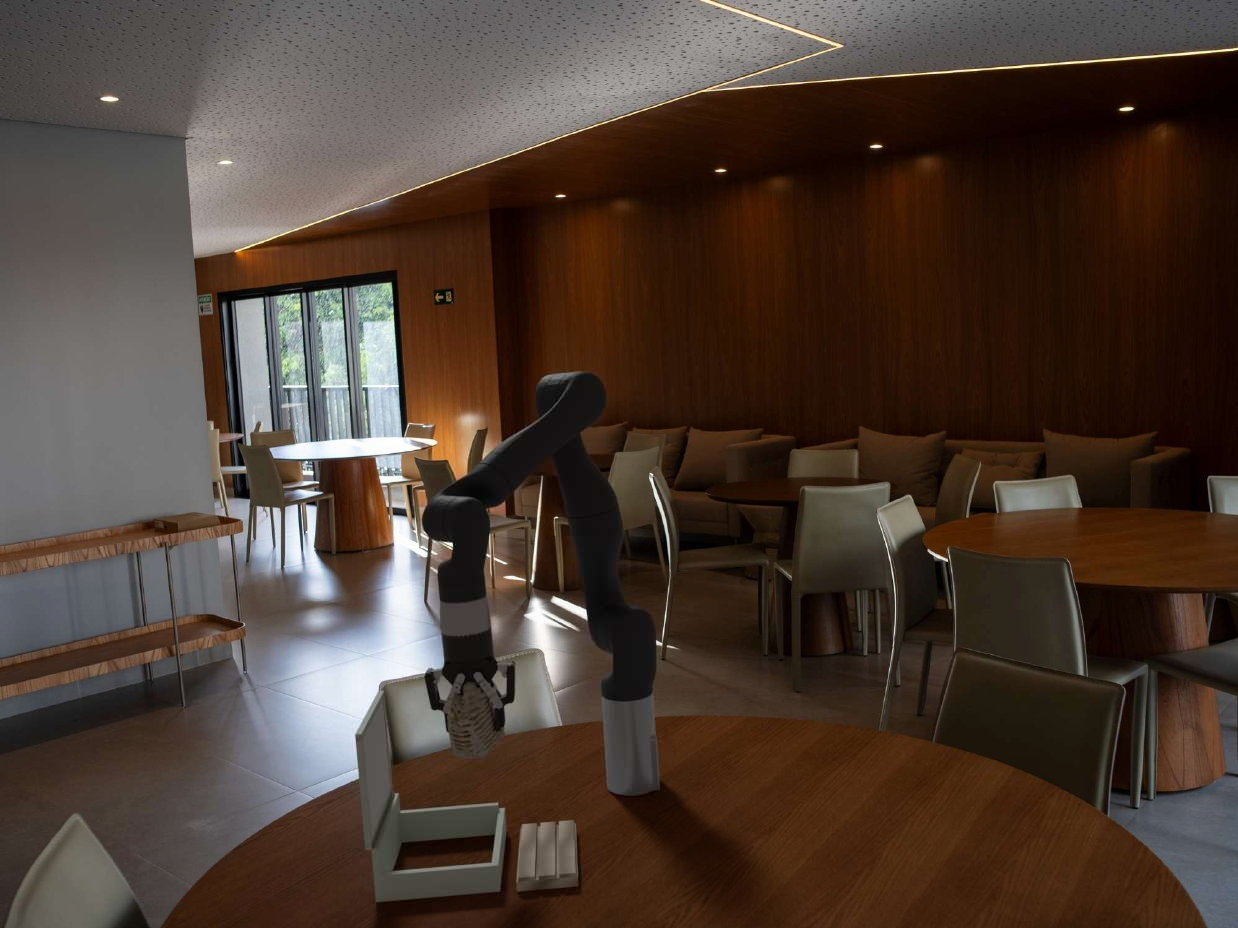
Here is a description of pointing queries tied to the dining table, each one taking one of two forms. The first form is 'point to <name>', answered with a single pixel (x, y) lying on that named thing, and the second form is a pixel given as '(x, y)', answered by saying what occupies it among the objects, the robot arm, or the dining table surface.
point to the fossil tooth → (472, 723)
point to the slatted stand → (547, 856)
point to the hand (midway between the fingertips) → (476, 731)
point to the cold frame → (417, 826)
